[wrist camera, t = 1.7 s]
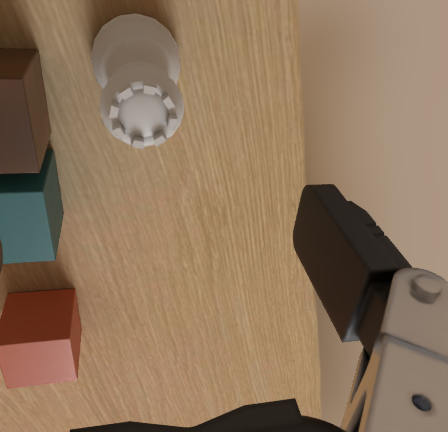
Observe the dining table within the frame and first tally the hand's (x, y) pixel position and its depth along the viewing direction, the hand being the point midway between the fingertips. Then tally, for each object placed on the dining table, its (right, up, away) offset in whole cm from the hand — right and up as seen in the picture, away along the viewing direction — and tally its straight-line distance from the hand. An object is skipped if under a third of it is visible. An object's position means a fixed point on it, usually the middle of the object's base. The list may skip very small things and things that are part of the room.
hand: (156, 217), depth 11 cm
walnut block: (-10, +6, +11) cm, 16 cm away
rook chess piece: (-3, +8, +11) cm, 14 cm away
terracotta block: (-11, -7, +20) cm, 24 cm away
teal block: (-10, +2, +14) cm, 17 cm away
